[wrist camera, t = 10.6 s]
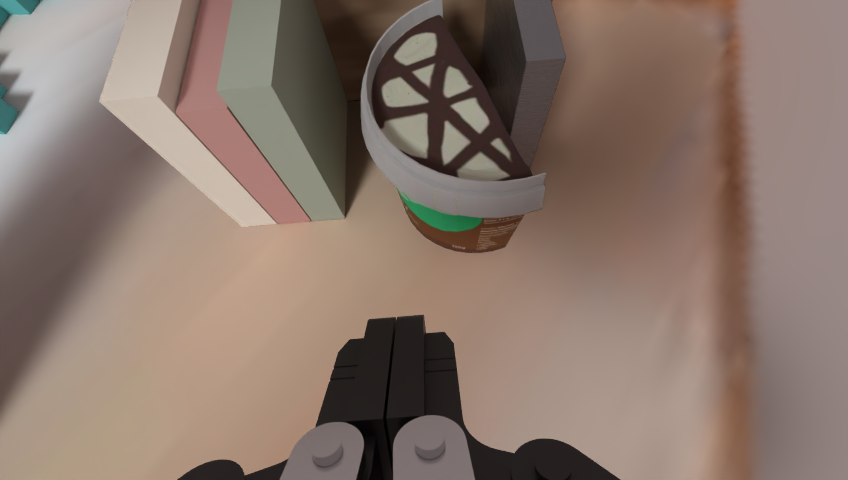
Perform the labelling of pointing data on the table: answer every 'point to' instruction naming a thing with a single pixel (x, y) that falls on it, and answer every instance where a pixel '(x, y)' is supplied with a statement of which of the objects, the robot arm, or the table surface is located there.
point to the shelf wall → (370, 18)
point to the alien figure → (3, 3)
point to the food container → (443, 138)
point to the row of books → (237, 103)
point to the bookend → (521, 66)
